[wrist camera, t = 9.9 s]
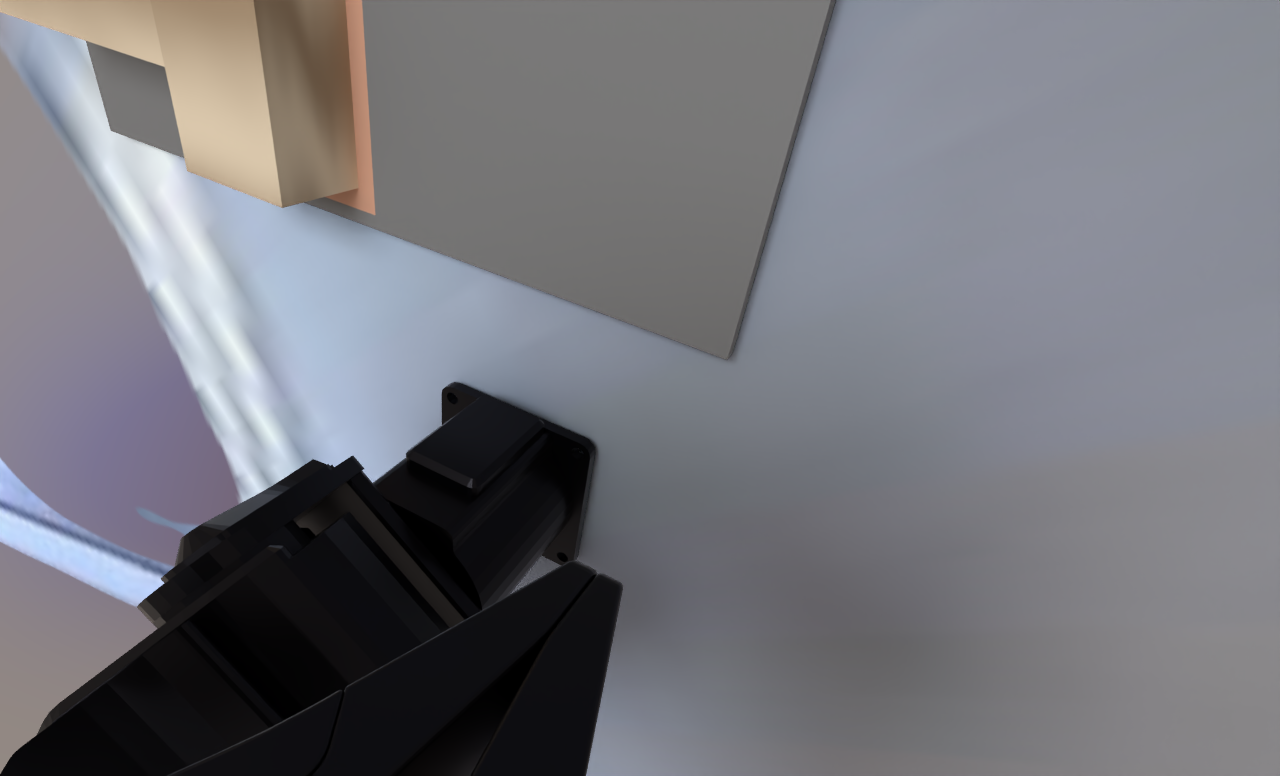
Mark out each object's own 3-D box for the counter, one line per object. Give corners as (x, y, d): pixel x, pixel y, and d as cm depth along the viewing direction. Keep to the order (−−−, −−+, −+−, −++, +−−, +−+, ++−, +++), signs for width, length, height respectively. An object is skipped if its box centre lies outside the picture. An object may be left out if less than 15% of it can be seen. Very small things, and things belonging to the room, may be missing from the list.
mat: (733, 351, 19) (726, 359, 19) (126, 128, 26) (110, 130, 25) (885, -169, 12) (881, -178, 12) (18, -282, 19) (-6, -290, 19)
